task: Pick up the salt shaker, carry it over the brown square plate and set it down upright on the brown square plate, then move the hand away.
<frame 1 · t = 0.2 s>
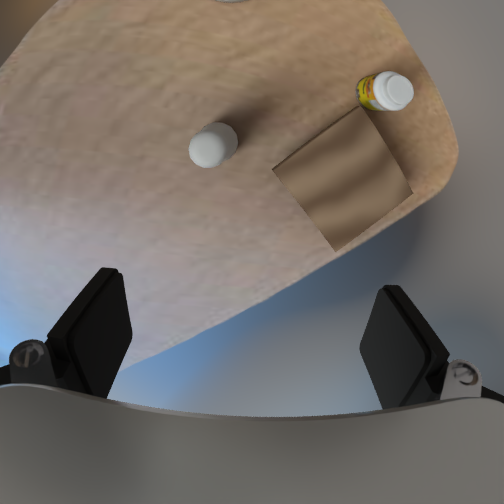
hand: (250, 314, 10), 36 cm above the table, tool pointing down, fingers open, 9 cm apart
salt shaker: (218, 141, 41), on the table
brown square plate: (337, 173, 43), on the table
supplement bottle: (370, 93, 38), on the table
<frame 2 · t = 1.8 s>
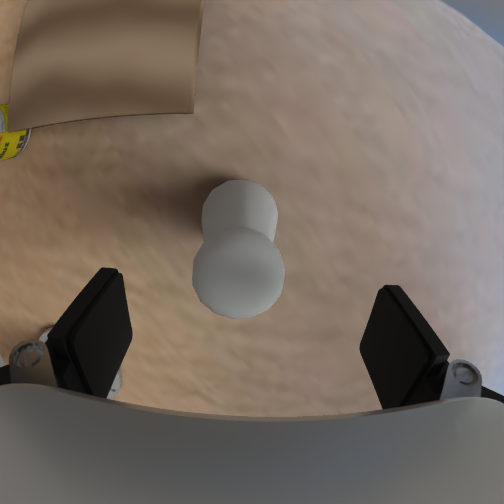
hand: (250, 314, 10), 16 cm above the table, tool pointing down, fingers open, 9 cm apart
salt shaker: (239, 208, 25), on the table
brown square plate: (123, 38, 18), on the table
supplement bottle: (17, 130, 20), on the table
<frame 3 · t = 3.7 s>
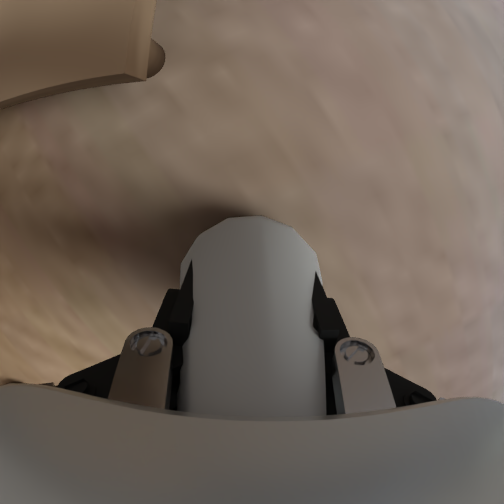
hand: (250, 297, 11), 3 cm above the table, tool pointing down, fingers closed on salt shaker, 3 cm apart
salt shaker: (250, 258, 14), on the table, touching gripper
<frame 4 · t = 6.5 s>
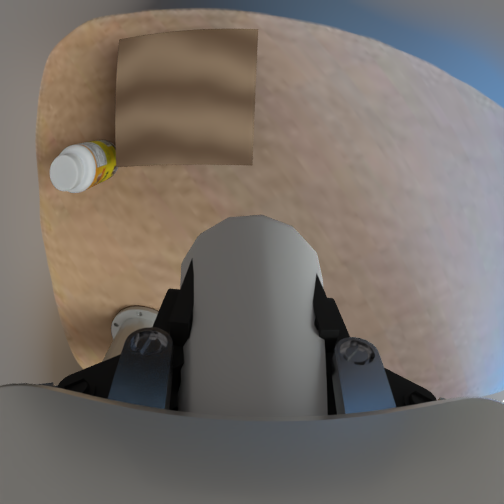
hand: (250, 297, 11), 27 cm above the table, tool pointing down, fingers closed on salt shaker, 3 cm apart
salt shaker: (250, 257, 14), point 24 cm above the table, touching gripper
brown square plate: (191, 99, 32), on the table
supplement bottle: (104, 159, 35), on the table
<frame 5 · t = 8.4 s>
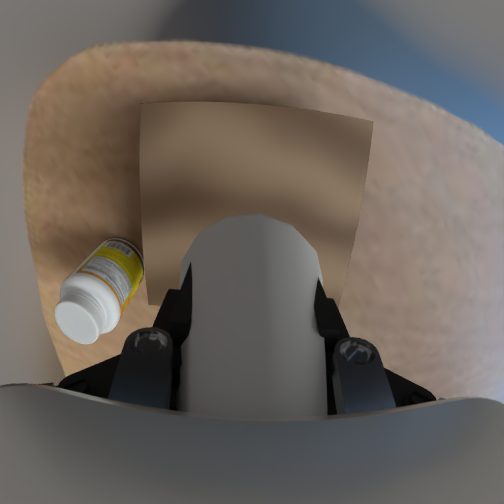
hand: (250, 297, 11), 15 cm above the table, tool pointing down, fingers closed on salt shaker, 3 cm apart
salt shaker: (250, 256, 14), point 12 cm above the table, touching gripper
brown square plate: (249, 197, 25), on the table
supplement bottle: (122, 261, 28), on the table
when the fingers open (11 cm above the table, at t = 9.7 s): salt shaker drops 1 cm, resting on brown square plate.
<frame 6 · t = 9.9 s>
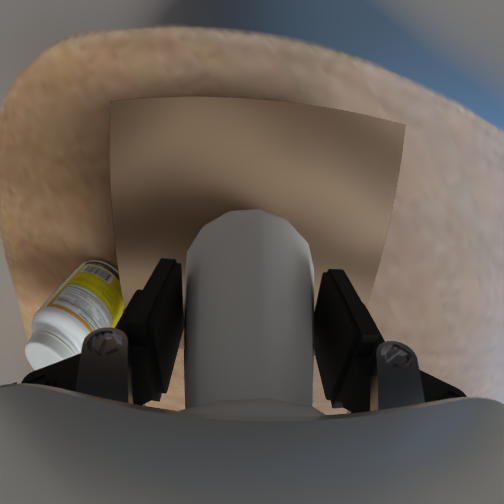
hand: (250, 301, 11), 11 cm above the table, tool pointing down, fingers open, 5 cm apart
salt shaker: (249, 248, 16), point 6 cm above the table, touching brown square plate
brown square plate: (249, 213, 21), on the table
supplement bottle: (104, 284, 24), on the table
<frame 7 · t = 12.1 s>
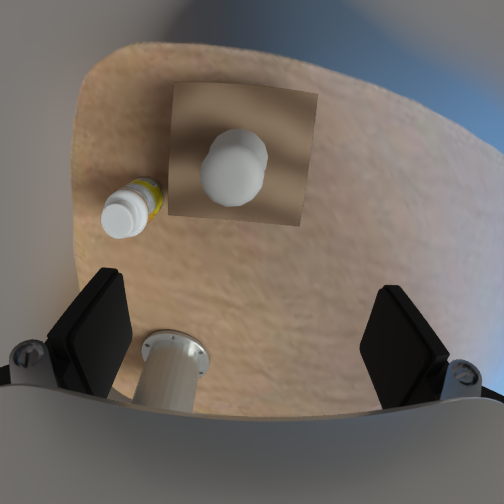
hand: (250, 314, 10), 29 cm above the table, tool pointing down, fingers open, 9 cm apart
salt shaker: (238, 154, 30), point 6 cm above the table, touching brown square plate
brown square plate: (240, 148, 35), on the table
supplement bottle: (146, 195, 38), on the table
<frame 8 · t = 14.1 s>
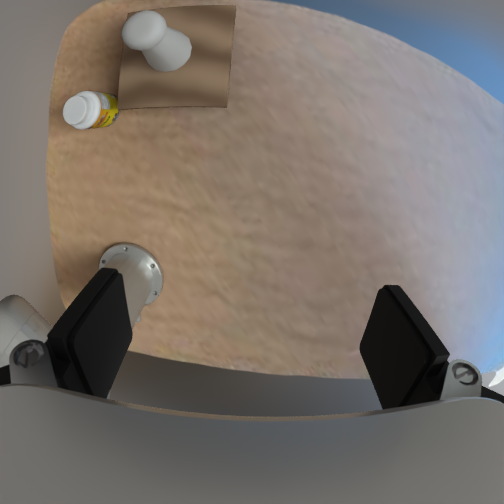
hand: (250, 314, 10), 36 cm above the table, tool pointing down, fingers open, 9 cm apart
salt shaker: (173, 55, 31), point 6 cm above the table, touching brown square plate
brown square plate: (182, 62, 36), on the table
supplement bottle: (107, 110, 39), on the table
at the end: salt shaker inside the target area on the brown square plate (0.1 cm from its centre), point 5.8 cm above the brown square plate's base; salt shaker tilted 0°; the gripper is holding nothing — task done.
